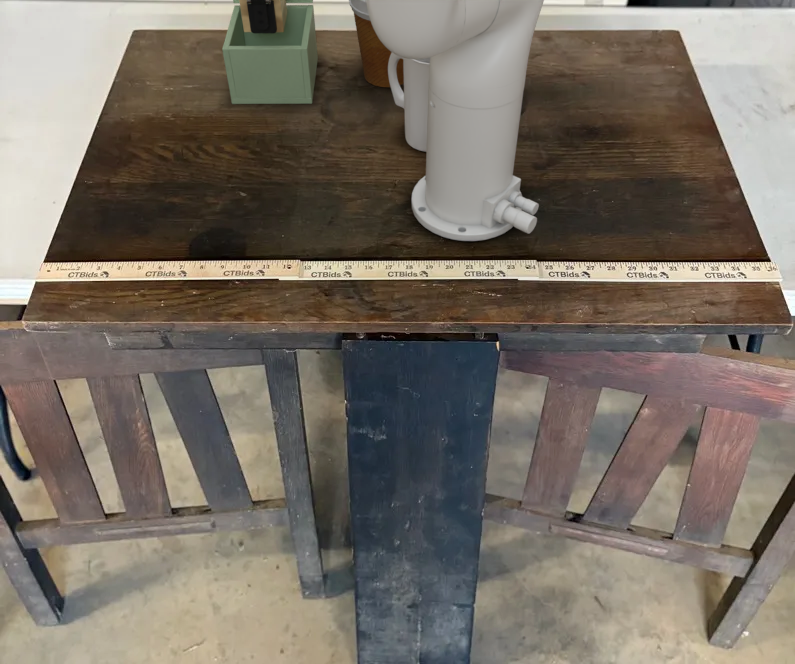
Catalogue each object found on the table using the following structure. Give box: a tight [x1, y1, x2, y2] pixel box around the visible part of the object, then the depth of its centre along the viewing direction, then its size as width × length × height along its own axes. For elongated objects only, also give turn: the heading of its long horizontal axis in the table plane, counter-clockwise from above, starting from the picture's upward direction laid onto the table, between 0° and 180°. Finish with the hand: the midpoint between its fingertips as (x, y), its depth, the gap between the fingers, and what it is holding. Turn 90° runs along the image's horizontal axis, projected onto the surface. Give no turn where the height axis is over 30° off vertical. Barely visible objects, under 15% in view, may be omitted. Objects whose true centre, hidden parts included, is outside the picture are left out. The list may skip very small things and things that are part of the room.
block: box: [239, 0, 287, 32], centre depth 100 cm, size 5×5×5 cm
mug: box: [388, 53, 430, 153], centre depth 96 cm, size 10×7×12 cm, turn 50°
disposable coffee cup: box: [348, 0, 404, 88], centre depth 105 cm, size 10×10×12 cm
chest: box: [221, 4, 319, 105], centre depth 106 cm, size 12×11×8 cm
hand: (266, 19), depth 102 cm, fingers closed on block, 5 cm apart
